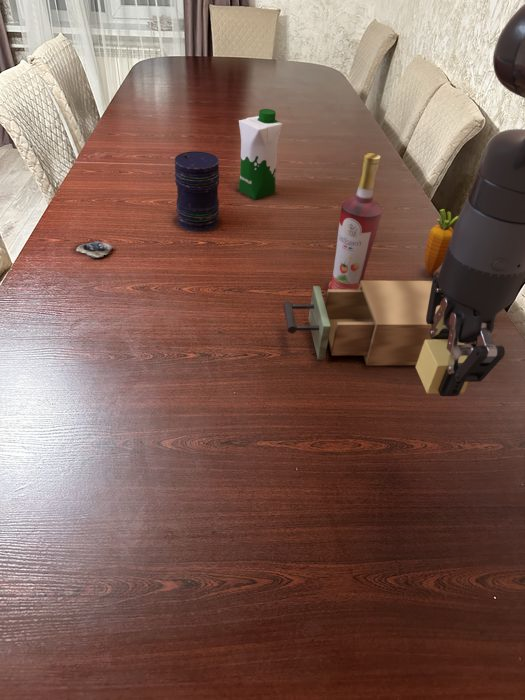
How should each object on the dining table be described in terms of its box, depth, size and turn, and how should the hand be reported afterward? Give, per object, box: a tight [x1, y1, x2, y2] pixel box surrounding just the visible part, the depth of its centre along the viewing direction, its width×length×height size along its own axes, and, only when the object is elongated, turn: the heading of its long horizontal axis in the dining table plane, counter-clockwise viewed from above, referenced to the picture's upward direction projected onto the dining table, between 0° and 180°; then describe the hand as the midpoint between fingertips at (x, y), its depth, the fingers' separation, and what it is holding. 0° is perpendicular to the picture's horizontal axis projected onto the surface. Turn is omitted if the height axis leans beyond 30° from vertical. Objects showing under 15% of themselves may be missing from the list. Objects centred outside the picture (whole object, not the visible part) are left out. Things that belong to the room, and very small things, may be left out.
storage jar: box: [174, 150, 220, 232], centre depth 119 cm, size 10×10×15 cm
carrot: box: [424, 208, 459, 276], centre depth 108 cm, size 5×5×15 cm
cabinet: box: [359, 279, 440, 366], centre depth 92 cm, size 15×13×9 cm
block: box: [415, 339, 469, 395], centre depth 59 cm, size 4×4×4 cm
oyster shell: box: [75, 240, 114, 259], centre depth 111 cm, size 7×8×2 cm
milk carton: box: [237, 108, 283, 201], centre depth 132 cm, size 9×9×20 cm
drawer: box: [283, 285, 375, 360], centre depth 91 cm, size 19×11×7 cm, turn 94°
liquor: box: [328, 152, 383, 290], centre depth 96 cm, size 7×7×28 cm
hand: (439, 377), depth 61 cm, fingers closed on block, 4 cm apart
